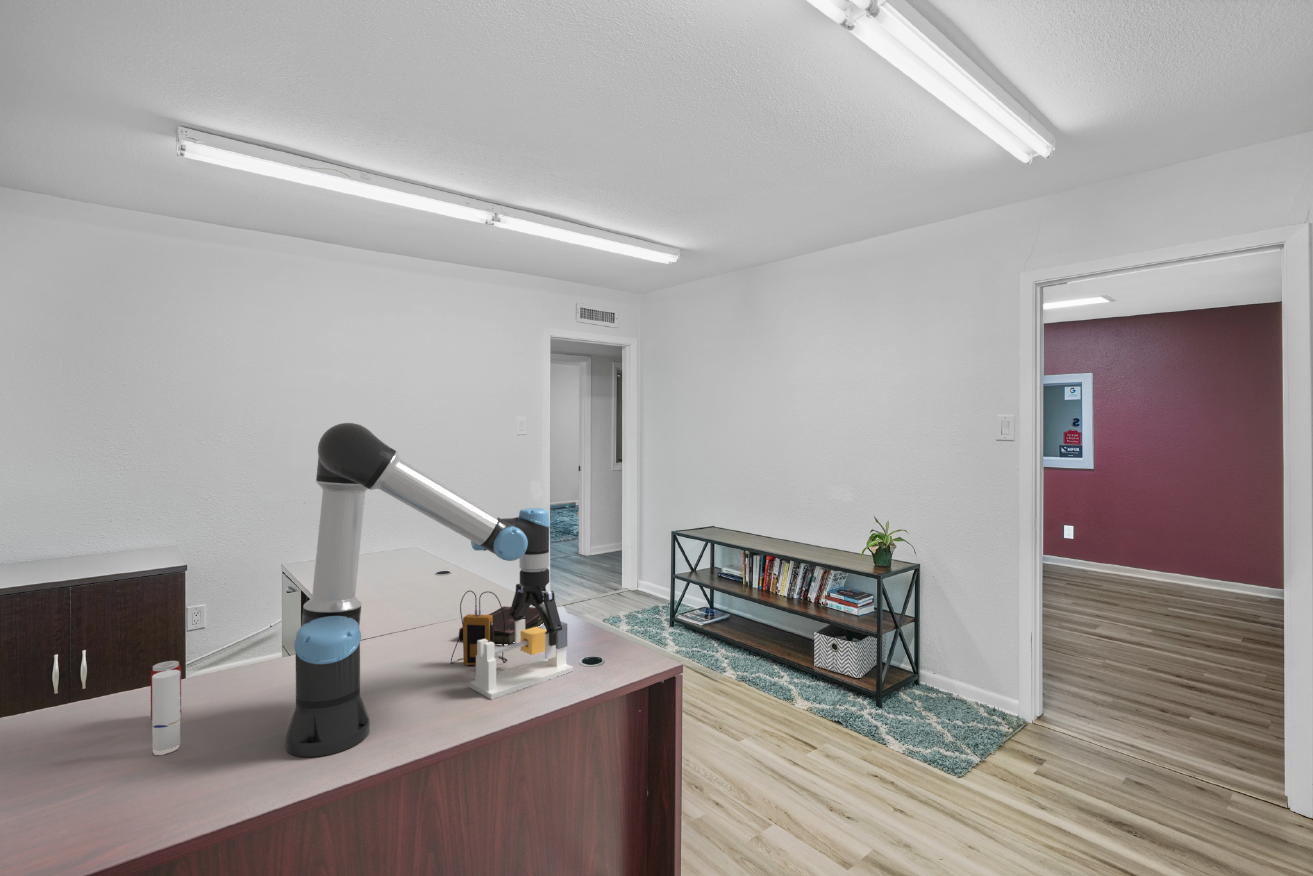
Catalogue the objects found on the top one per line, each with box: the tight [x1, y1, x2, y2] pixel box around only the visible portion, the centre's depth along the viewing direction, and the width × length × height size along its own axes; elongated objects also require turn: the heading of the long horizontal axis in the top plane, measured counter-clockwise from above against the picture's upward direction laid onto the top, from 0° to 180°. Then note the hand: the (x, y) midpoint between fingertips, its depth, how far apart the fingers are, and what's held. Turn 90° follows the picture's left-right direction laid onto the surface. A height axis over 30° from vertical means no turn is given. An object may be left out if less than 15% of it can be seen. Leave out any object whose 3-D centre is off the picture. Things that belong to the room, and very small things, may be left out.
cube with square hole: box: [520, 627, 547, 656], centre depth 159 cm, size 5×5×5 cm
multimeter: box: [450, 590, 508, 666], centre depth 171 cm, size 15×10×20 cm
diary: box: [458, 606, 543, 646], centre depth 196 cm, size 19×25×5 cm
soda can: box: [150, 660, 182, 719], centre depth 135 cm, size 5×5×12 cm
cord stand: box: [469, 621, 574, 700], centre depth 157 cm, size 24×10×12 cm, turn 135°
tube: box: [151, 670, 181, 751], centre depth 122 cm, size 4×4×15 cm
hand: (534, 651), depth 159 cm, fingers open, 13 cm apart
